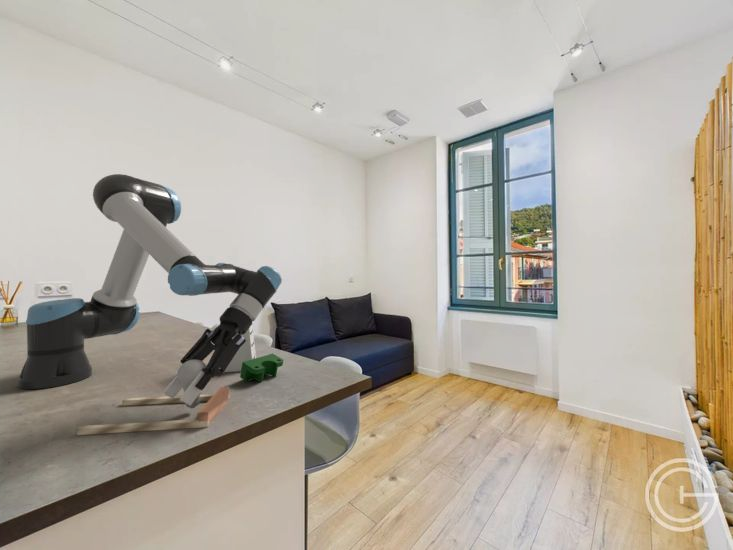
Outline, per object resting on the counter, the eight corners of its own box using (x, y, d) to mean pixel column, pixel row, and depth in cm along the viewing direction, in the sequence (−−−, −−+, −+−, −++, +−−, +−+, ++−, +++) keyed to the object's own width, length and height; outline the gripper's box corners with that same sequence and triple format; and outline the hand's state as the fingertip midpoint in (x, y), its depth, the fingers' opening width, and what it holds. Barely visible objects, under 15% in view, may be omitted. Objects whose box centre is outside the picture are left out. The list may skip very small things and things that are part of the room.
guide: (77, 435, 59) (77, 419, 59) (125, 403, 73) (125, 391, 73) (207, 427, 62) (207, 412, 62) (229, 398, 77) (229, 386, 77)
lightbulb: (214, 404, 71) (214, 357, 71) (191, 416, 65) (191, 365, 65) (194, 400, 73) (194, 355, 73) (170, 411, 67) (170, 362, 67)
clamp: (256, 397, 88) (250, 374, 84) (243, 388, 91) (237, 365, 87) (287, 371, 97) (283, 349, 93) (274, 364, 100) (270, 342, 96)
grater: (225, 362, 106) (225, 306, 106) (256, 360, 109) (256, 305, 109) (218, 372, 96) (218, 309, 96) (253, 370, 99) (253, 309, 98)
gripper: (274, 326, 77) (214, 416, 63) (227, 320, 87) (165, 397, 73) (257, 308, 72) (188, 401, 59) (209, 303, 82) (140, 382, 68)
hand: (176, 398), depth 66 cm, fingers closed on lightbulb, 6 cm apart
